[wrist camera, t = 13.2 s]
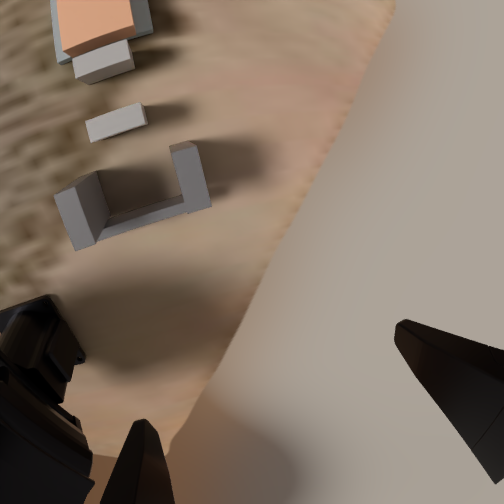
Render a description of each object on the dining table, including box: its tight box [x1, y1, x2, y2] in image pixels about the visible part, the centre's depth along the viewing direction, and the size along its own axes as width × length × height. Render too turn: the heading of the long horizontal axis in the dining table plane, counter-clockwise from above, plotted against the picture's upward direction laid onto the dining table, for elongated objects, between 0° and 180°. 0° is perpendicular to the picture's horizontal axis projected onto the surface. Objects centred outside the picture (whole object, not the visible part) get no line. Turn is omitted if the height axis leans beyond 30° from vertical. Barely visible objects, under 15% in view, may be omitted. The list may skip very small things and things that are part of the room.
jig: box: [54, 39, 212, 251], centre depth 14 cm, size 7×10×5 cm
